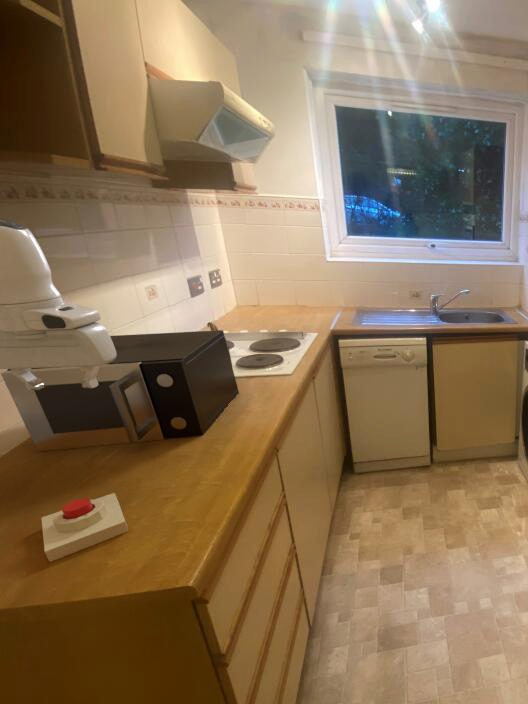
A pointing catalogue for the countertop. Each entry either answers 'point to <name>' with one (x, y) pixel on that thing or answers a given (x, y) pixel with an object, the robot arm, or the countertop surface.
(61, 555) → the button block
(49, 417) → the microwave door
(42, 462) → the countertop surface
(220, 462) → the countertop surface
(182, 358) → the microwave
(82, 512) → the button
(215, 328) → the vegetable
